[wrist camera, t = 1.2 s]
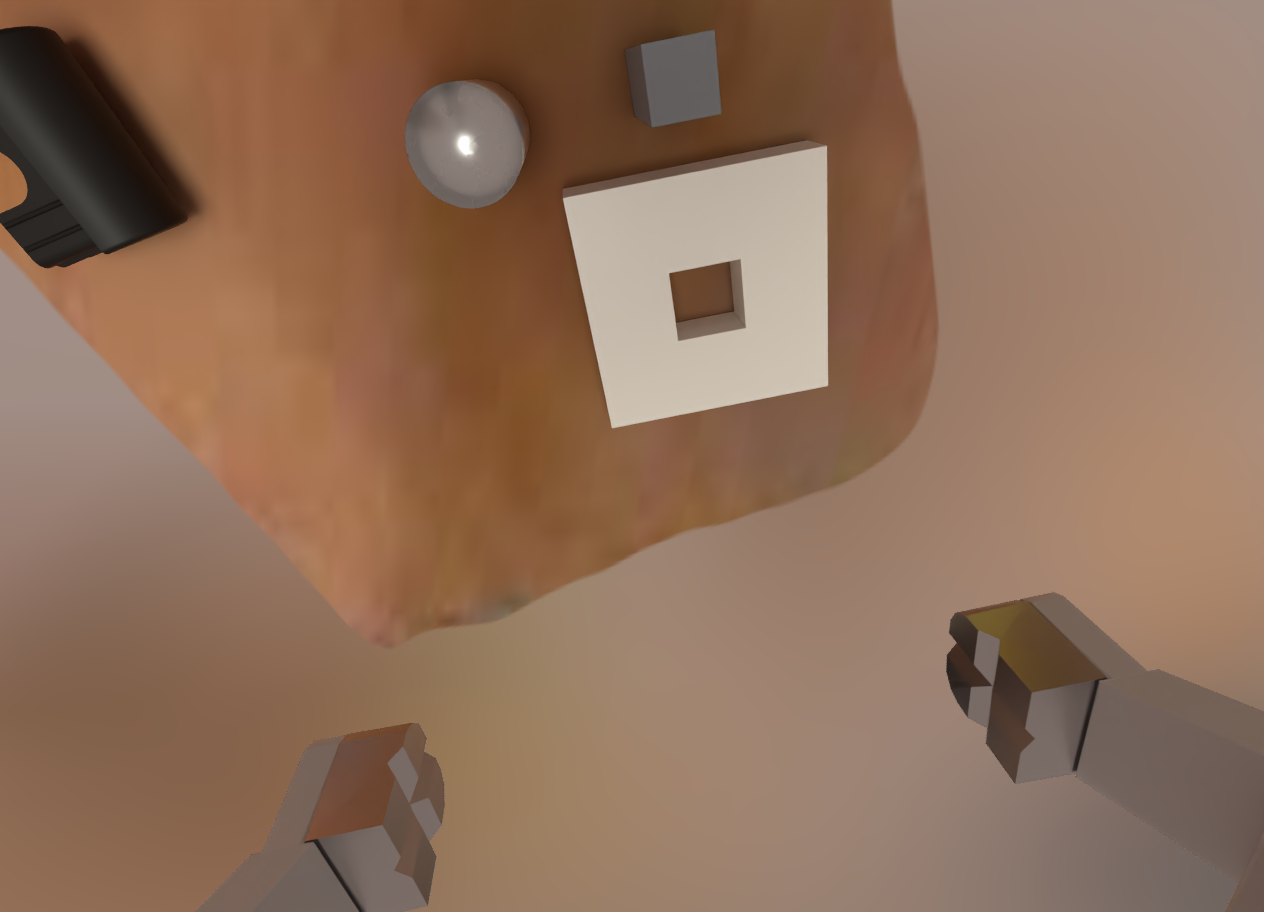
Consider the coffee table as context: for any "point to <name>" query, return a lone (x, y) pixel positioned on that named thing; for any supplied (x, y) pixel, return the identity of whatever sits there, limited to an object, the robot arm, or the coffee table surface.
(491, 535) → the coffee table surface
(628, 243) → the socket block
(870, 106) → the coffee table surface
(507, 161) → the round peg
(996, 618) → the robot arm
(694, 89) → the square peg
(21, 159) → the end cap
